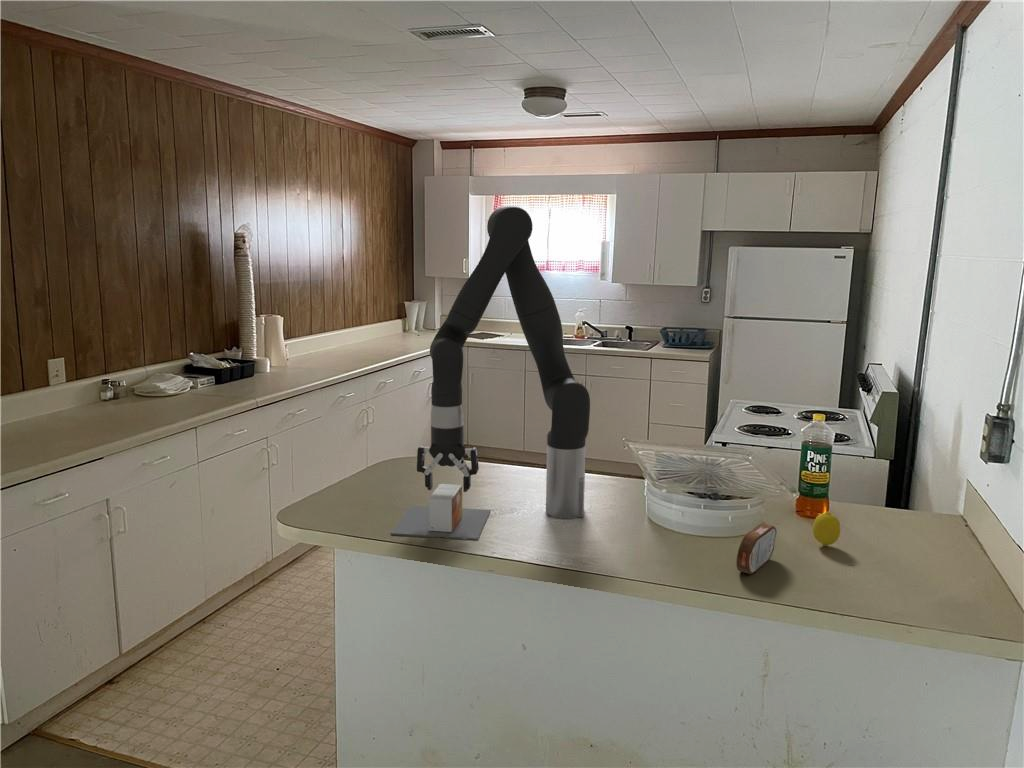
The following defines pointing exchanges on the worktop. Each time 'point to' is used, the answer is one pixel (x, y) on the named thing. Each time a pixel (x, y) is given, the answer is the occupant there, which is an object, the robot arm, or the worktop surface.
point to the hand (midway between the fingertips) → (448, 490)
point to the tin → (756, 548)
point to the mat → (418, 525)
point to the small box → (445, 508)
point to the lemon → (826, 528)
